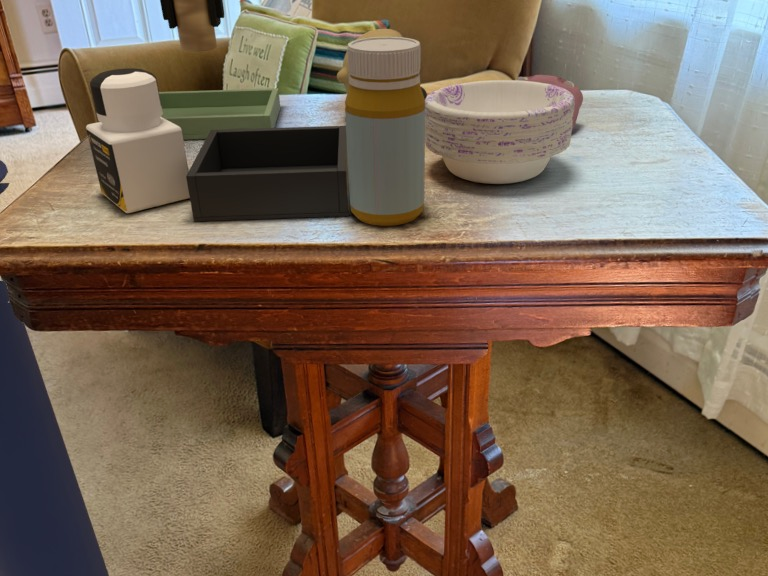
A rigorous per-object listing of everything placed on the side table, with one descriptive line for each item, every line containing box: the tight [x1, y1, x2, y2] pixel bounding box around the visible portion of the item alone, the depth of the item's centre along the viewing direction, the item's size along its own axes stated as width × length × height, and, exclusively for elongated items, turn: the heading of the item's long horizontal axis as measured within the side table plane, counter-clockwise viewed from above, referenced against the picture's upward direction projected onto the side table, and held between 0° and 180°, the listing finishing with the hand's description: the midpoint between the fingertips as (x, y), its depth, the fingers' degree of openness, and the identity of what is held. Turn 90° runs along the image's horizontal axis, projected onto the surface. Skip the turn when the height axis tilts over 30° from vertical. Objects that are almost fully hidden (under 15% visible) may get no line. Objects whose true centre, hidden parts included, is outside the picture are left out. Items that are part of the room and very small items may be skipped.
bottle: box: [344, 36, 426, 227], centre depth 68 cm, size 7×7×15 cm
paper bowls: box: [425, 79, 575, 185], centre depth 79 cm, size 15×15×8 cm
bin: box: [186, 125, 349, 222], centre depth 76 cm, size 15×15×4 cm
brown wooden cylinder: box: [173, 0, 218, 53], centre depth 91 cm, size 4×4×8 cm
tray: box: [159, 87, 281, 141], centre depth 98 cm, size 18×14×3 cm
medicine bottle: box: [85, 67, 190, 214], centre depth 74 cm, size 7×7×12 cm
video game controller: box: [515, 74, 584, 130], centre depth 93 cm, size 10×5×7 cm, turn 62°
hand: (195, 24), depth 92 cm, fingers closed on brown wooden cylinder, 4 cm apart
